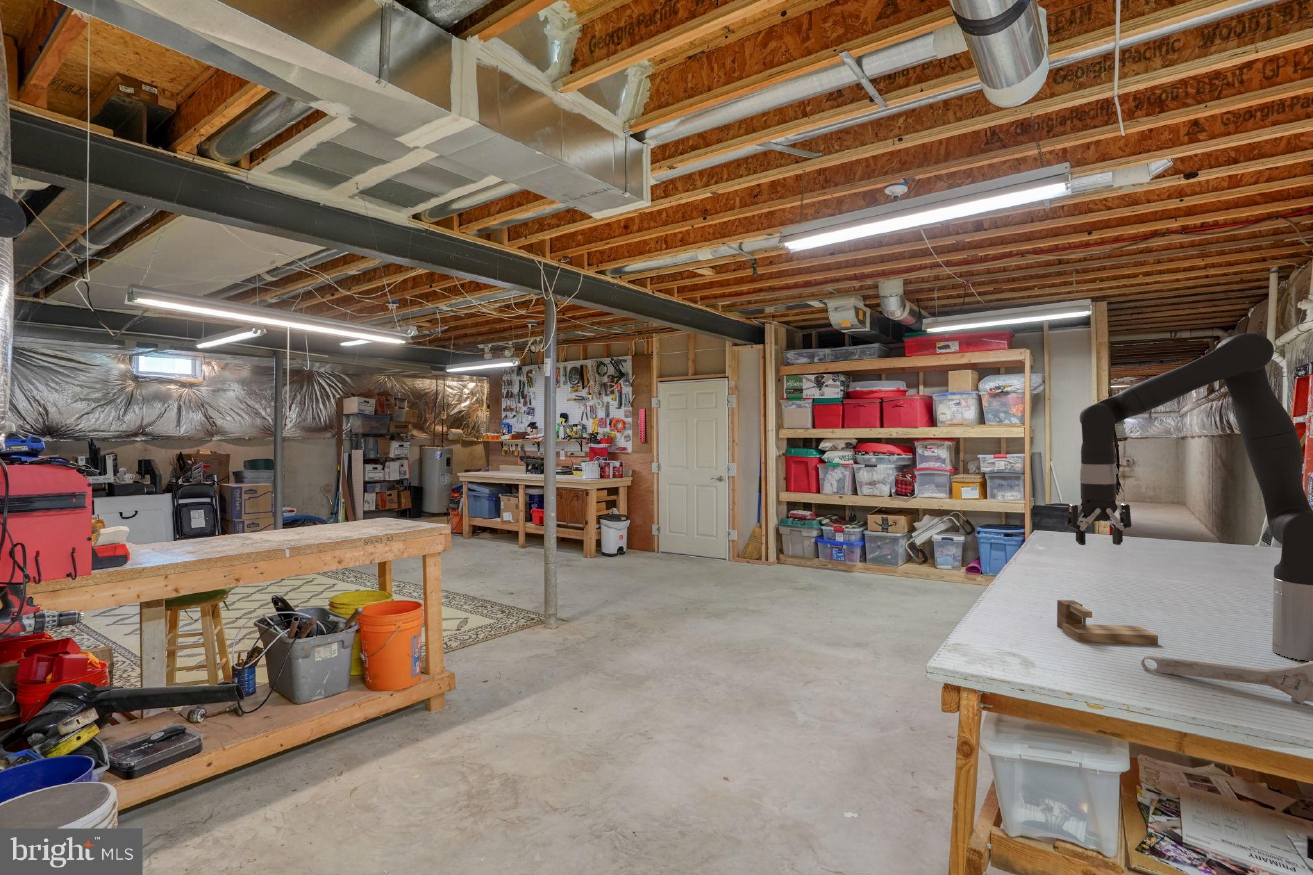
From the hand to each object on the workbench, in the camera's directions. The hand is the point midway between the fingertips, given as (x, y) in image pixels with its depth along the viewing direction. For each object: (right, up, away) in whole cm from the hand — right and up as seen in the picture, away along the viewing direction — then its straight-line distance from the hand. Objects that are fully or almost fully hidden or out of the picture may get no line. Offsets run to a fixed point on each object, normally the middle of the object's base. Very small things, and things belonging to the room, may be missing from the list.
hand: (1099, 544), depth 161 cm
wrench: (+2, -23, -36) cm, 42 cm away
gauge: (-8, -22, -2) cm, 23 cm away
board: (-2, -22, -6) cm, 23 cm away
